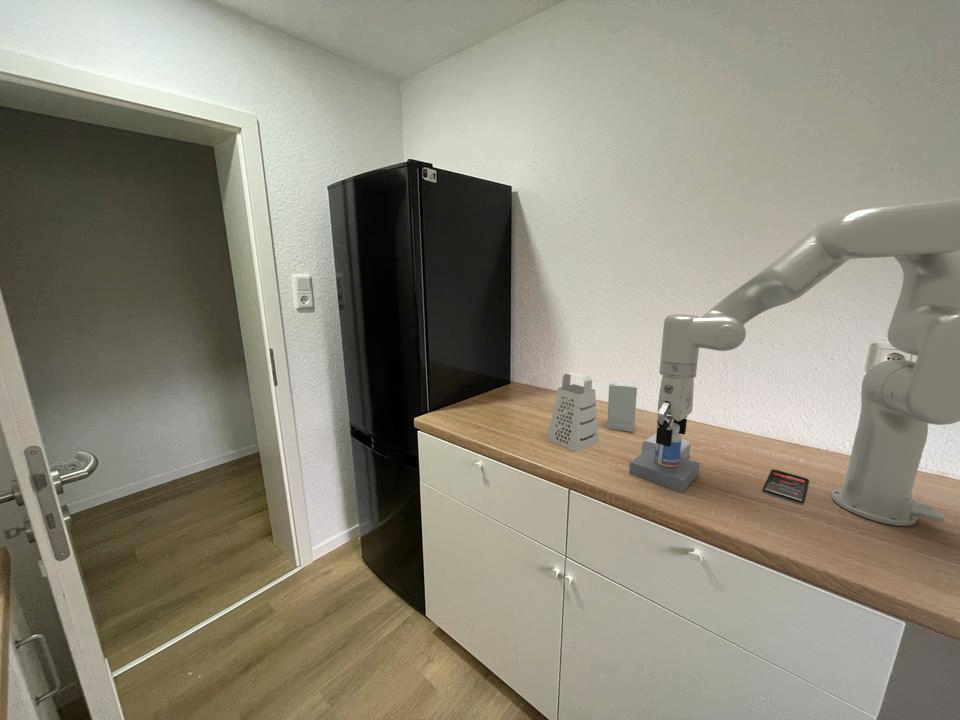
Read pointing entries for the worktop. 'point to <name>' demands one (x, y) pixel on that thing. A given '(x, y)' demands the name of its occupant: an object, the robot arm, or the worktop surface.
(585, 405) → the grater
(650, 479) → the grey pad
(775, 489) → the smartphone
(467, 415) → the worktop surface
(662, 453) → the pill bottle
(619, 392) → the skincare box
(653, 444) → the charger
